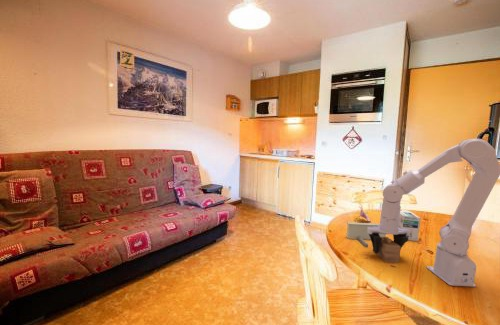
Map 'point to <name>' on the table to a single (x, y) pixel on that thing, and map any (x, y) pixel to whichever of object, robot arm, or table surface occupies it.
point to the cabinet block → (389, 250)
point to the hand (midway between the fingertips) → (385, 252)
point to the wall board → (360, 231)
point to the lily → (363, 214)
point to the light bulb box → (410, 223)
